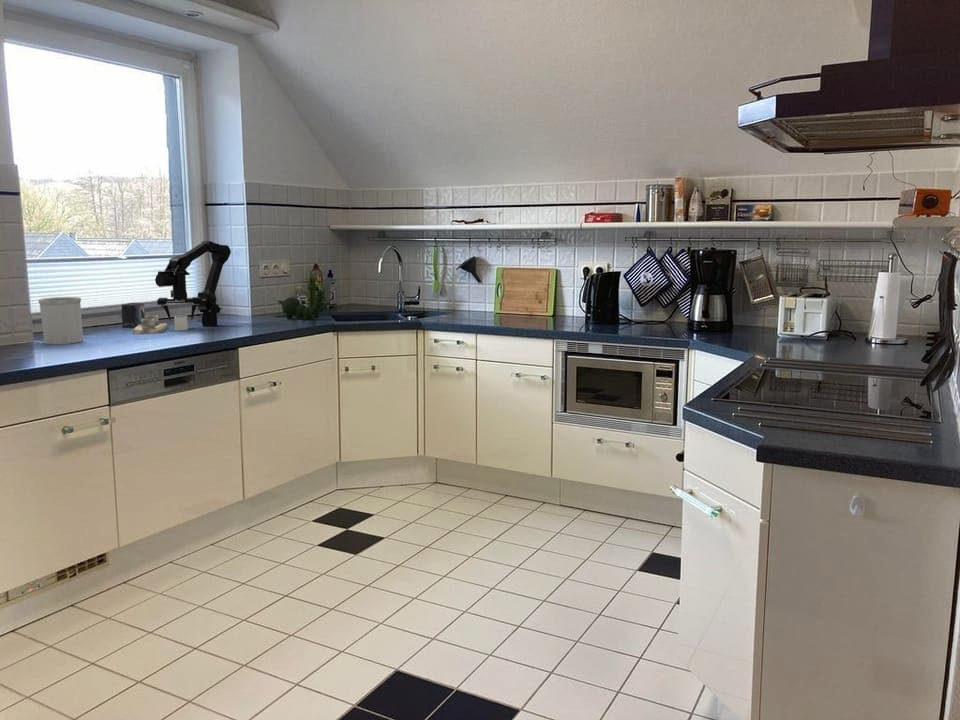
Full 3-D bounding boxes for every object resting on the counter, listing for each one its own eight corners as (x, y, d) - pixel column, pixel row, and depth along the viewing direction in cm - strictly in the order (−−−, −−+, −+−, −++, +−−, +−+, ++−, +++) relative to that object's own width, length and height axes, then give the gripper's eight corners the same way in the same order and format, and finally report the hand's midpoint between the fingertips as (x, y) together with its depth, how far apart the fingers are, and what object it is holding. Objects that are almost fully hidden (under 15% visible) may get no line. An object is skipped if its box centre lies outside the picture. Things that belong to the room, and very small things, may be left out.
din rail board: (167, 326, 357) (166, 314, 356) (162, 332, 336) (161, 320, 335) (139, 327, 354) (138, 315, 353) (132, 333, 333) (131, 320, 332)
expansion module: (187, 328, 352) (187, 315, 351) (186, 330, 347) (186, 316, 346) (176, 328, 351) (175, 315, 350) (175, 330, 345) (174, 316, 344)
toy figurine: (325, 322, 394) (281, 316, 399) (328, 285, 390) (283, 279, 396) (317, 324, 385) (272, 318, 390) (319, 287, 381) (274, 281, 387)
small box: (135, 327, 353) (134, 304, 351) (121, 327, 353) (120, 304, 352) (146, 324, 364) (144, 302, 362) (132, 324, 364) (131, 302, 362)
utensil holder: (55, 345, 297) (51, 300, 295) (34, 342, 305) (30, 298, 302) (91, 341, 310) (88, 298, 307) (70, 338, 318) (67, 296, 315)
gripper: (202, 284, 356) (203, 317, 358) (158, 284, 350) (161, 318, 353) (200, 285, 345) (202, 320, 348) (156, 286, 340) (158, 321, 343)
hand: (181, 320), depth 348 cm, fingers open, 9 cm apart
